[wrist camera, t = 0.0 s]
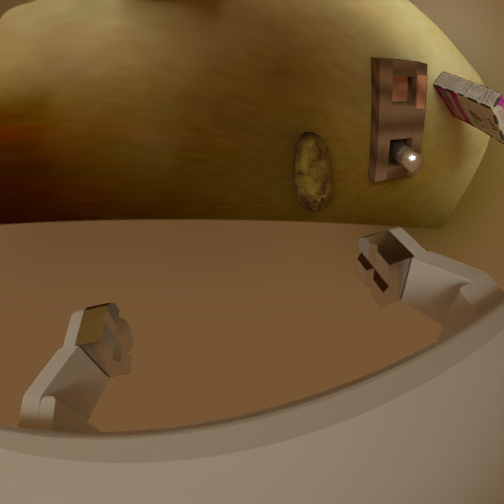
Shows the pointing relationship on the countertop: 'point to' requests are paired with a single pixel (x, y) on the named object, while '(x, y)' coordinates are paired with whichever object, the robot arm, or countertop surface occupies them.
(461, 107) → the candy bar box
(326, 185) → the potato
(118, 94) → the countertop surface
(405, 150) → the metal peg
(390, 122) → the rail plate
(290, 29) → the countertop surface
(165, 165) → the countertop surface
